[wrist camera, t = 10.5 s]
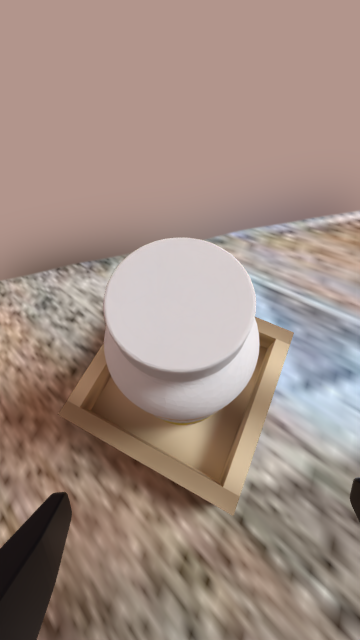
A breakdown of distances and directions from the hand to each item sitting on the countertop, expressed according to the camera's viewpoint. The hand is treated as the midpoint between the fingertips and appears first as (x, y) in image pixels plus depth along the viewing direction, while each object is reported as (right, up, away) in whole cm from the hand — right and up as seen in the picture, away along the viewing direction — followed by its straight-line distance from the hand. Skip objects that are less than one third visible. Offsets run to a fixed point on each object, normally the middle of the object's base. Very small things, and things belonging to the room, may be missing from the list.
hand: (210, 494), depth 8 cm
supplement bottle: (-1, +1, +12) cm, 12 cm away
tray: (-1, +1, +12) cm, 12 cm away
